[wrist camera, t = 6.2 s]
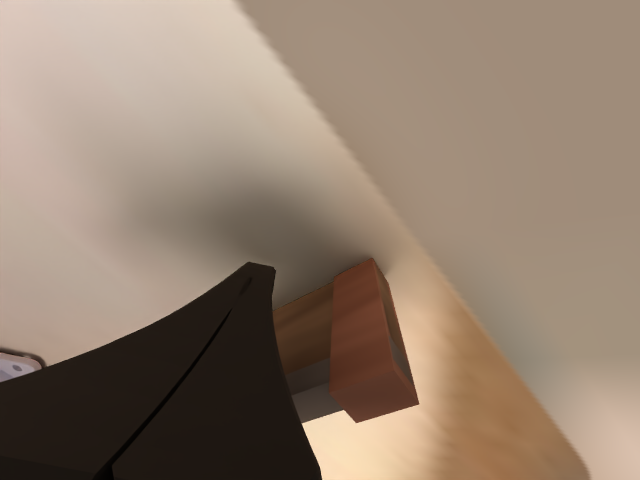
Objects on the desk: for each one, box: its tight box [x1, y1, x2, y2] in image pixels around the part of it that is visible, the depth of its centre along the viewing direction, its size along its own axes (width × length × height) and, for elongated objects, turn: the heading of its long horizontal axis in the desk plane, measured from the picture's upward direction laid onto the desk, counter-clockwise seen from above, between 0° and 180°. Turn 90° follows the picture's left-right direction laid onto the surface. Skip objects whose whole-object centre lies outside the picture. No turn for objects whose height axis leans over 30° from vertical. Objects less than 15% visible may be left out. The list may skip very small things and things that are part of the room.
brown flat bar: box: [273, 258, 419, 423], centre depth 12 cm, size 1×17×5 cm, turn 123°
